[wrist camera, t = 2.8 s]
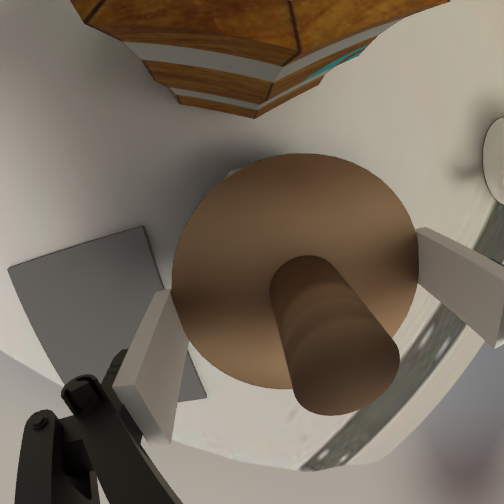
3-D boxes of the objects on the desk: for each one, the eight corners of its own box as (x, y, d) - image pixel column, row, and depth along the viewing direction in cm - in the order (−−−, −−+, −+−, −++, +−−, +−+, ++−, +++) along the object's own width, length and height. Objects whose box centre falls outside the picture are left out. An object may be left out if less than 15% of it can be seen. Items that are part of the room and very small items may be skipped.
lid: (144, 189, 13) (67, 228, 6) (394, 135, 13) (504, 137, 6) (215, 392, 17) (211, 500, 10) (408, 342, 17) (471, 422, 10)
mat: (9, 267, 22) (7, 269, 22) (143, 225, 22) (142, 227, 21) (82, 406, 27) (80, 409, 27) (206, 395, 27) (206, 398, 26)
